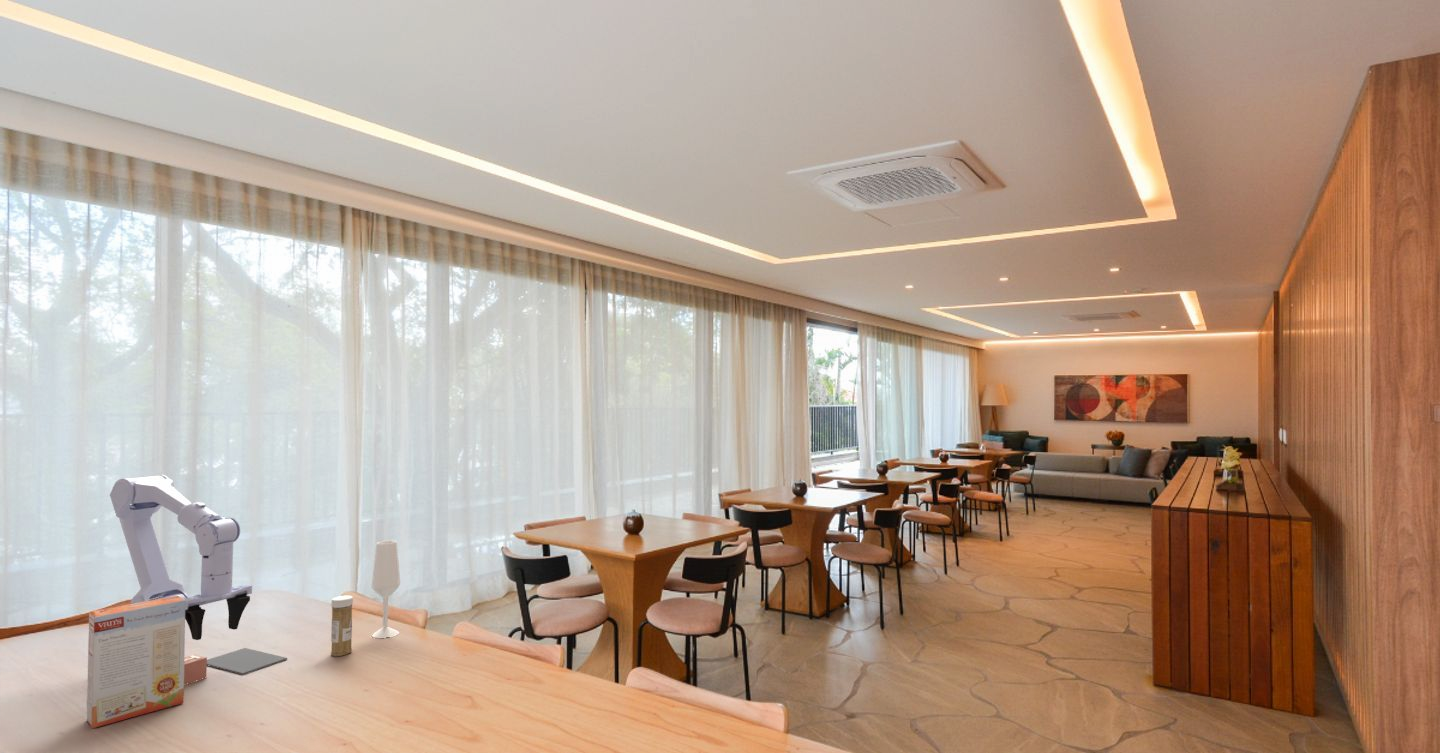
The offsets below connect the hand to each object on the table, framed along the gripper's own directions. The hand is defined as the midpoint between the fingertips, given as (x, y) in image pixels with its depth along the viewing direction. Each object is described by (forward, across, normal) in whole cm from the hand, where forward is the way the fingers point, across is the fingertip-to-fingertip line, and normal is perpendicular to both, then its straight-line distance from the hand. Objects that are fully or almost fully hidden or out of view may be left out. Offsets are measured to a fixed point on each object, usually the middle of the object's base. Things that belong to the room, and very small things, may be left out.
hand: (215, 633), depth 154 cm
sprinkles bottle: (+9, +19, -16) cm, 27 cm away
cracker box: (+9, -19, -8) cm, 22 cm away
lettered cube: (+8, -5, 0) cm, 10 cm away
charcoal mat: (+8, +6, 0) cm, 11 cm away
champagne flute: (+9, +33, -14) cm, 37 cm away
